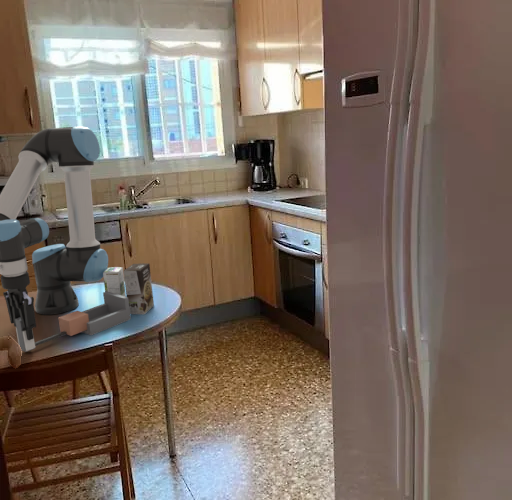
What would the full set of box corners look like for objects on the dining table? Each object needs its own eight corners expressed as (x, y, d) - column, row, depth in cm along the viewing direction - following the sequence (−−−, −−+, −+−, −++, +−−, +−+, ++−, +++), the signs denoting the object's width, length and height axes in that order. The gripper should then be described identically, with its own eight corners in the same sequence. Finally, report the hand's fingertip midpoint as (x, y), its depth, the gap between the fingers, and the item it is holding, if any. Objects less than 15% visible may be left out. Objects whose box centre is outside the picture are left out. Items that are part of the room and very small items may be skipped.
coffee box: (145, 314, 192) (140, 270, 187) (127, 314, 193) (122, 270, 189) (154, 305, 200) (150, 262, 196) (138, 305, 201) (133, 262, 197)
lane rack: (69, 327, 184) (66, 305, 182) (109, 312, 195) (106, 291, 193) (90, 335, 176) (87, 312, 174) (130, 319, 188) (128, 297, 186)
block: (17, 348, 167) (12, 317, 164) (79, 325, 183) (75, 296, 180) (28, 353, 163) (22, 321, 161) (90, 328, 179) (85, 299, 177)
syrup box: (111, 305, 203) (106, 267, 200) (127, 304, 203) (122, 266, 199) (107, 310, 198) (101, 272, 194) (123, 309, 198) (118, 271, 194)
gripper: (-12, 272, 162) (2, 346, 168) (16, 281, 152) (29, 358, 158) (12, 266, 168) (25, 337, 174) (40, 273, 158) (53, 349, 164)
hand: (27, 347), depth 166 cm, fingers closed on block, 3 cm apart
